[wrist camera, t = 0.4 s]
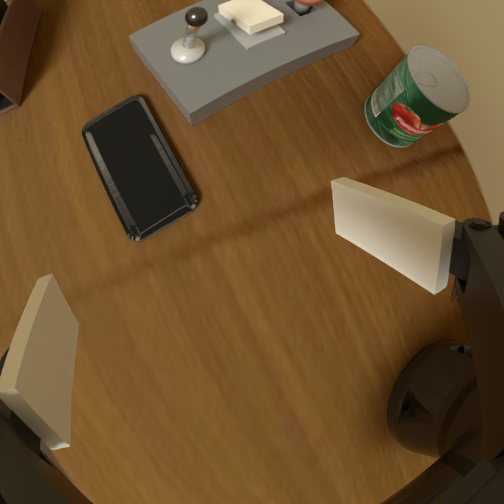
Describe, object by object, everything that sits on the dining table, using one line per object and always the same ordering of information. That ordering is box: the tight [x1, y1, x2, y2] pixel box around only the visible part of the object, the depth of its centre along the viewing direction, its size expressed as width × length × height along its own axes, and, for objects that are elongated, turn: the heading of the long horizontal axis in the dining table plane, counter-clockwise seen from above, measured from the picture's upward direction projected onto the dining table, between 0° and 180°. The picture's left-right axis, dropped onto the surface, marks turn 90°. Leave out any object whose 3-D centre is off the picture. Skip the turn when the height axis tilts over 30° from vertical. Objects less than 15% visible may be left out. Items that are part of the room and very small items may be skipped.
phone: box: [82, 95, 198, 242], centre depth 30 cm, size 8×1×15 cm
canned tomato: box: [364, 45, 470, 148], centre depth 28 cm, size 8×8×11 cm
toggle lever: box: [182, 7, 209, 49], centre depth 24 cm, size 2×2×8 cm
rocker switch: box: [218, 0, 284, 35], centre depth 28 cm, size 6×4×2 cm
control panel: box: [129, 0, 360, 126], centre depth 31 cm, size 14×24×4 cm, turn 126°
